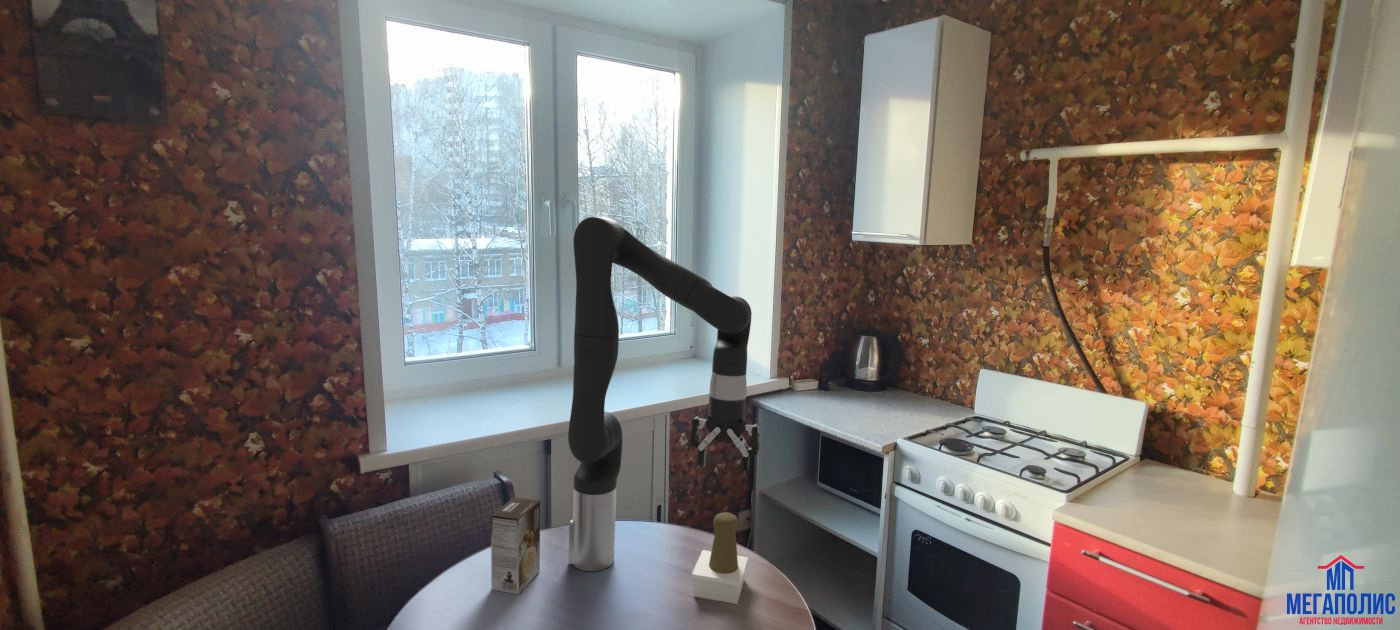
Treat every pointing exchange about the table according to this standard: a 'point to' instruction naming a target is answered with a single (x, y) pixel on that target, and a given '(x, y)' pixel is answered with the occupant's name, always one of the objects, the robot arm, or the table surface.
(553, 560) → the table surface
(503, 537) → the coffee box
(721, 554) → the cork
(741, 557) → the podium
